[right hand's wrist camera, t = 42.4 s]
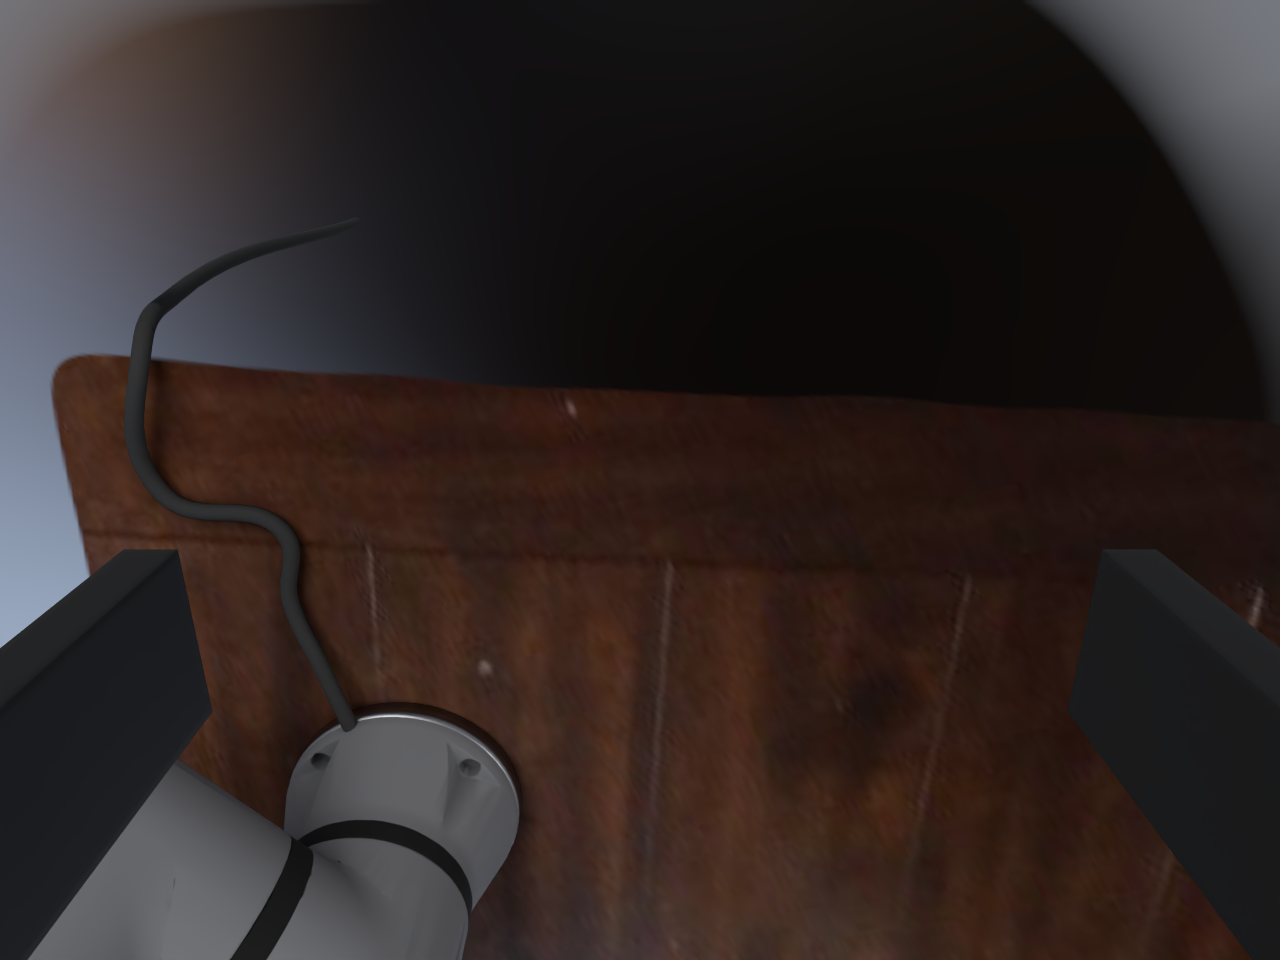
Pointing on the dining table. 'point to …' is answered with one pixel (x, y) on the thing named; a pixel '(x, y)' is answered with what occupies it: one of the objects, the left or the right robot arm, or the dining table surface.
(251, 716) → the dining table surface
